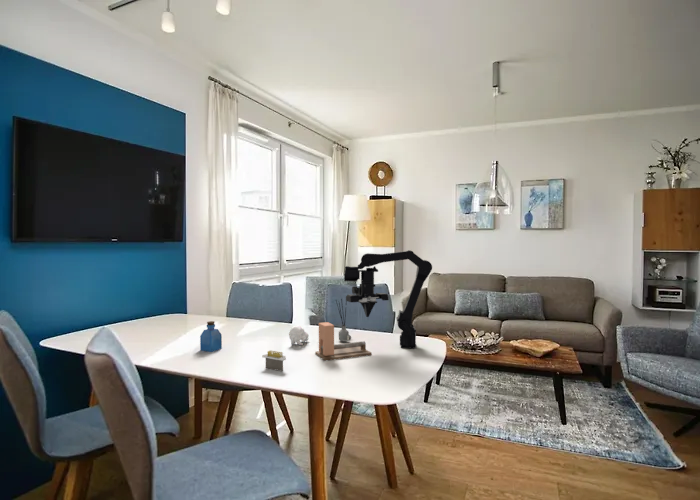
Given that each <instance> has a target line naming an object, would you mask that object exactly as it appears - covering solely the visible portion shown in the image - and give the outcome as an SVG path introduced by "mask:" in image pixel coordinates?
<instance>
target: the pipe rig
mask: <svg viewBox="0 0 700 500" xmlns="http://www.w3.org/2000/svg"><path fill="white" fill-rule="evenodd" d="M366 345H367V344H366V341H365V340H364V341H356V342H355V341H354V342H346V343H345V342H344V343H337V344H335V343H334V355H327V356H324V355H323V346H321V353H320V352H319V350H318V351H316V350H315V353H314V354H315V355H316V356H317V357H319V358H320V359H321V358H322V360H323V361H324V362H326V360H328V361H334V359H336V360H342V359H343V358H344V359H350V358H351V357H352V358H359V356H360V357H365V356H366V355H368V356H372V352H371V351H369V350H368V349H366V347H367V346H366Z"/></svg>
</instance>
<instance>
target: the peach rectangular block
mask: <svg viewBox="0 0 700 500" xmlns="http://www.w3.org/2000/svg"><path fill="white" fill-rule="evenodd" d="M334 345H335V325H334V324H332V323H330V322H328V321H327V322H318V351H319V352H320V353H321V346H323V355H324V356H327V355H334Z"/></svg>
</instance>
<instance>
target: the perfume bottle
mask: <svg viewBox="0 0 700 500" xmlns="http://www.w3.org/2000/svg"><path fill="white" fill-rule="evenodd" d="M215 327H216V324H215V321H213V320H210V321H206V328H207V329H203V331H202V332H201V334H200V337H199V338H200V340H199V343H200V344H199V345H200V349H199V350H200V351H204V352H209V353H213V352H215V351H216V352H217V351H219V350H222V349H223V347H222V342H223V341H222V333H221V332H220V331H219V329H218V328H215Z"/></svg>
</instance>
